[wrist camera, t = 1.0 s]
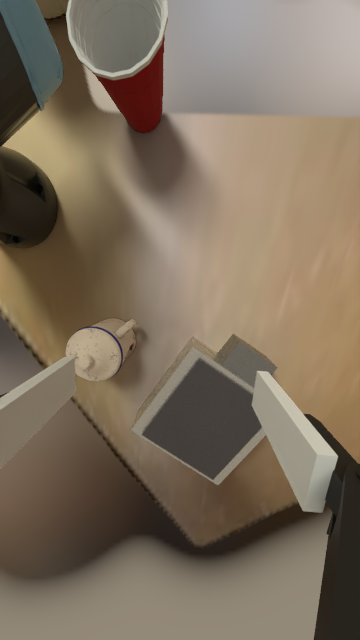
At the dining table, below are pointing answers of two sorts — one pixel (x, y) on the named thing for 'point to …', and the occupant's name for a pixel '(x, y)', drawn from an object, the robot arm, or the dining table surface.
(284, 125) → the dining table surface
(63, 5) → the canister
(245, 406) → the white flat block
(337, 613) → the robot arm
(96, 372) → the teacup with lid
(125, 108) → the plastic cup
